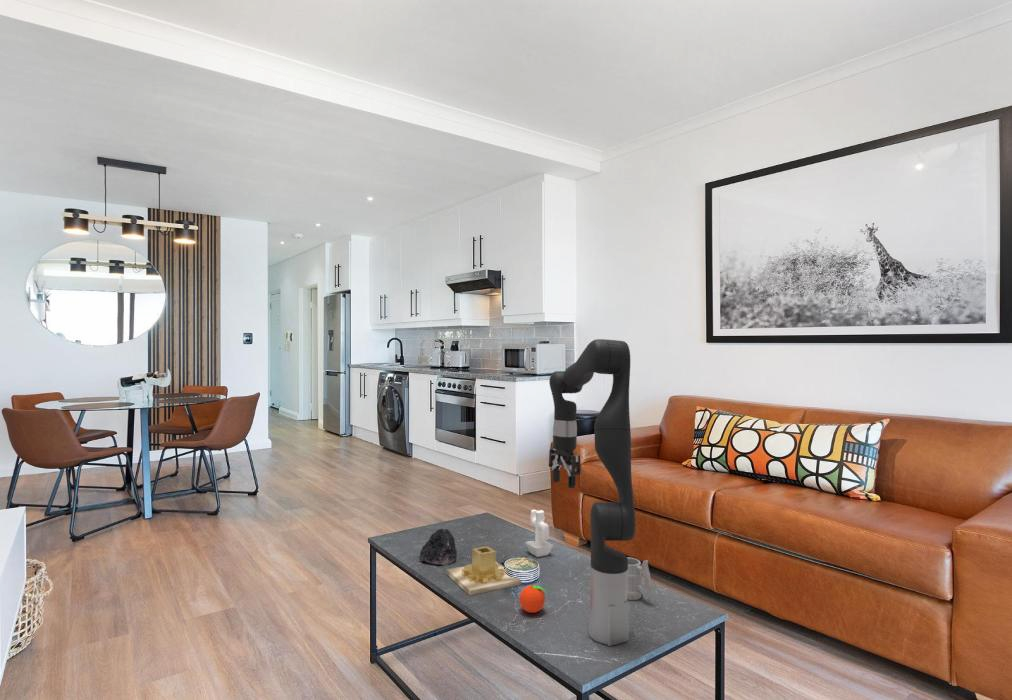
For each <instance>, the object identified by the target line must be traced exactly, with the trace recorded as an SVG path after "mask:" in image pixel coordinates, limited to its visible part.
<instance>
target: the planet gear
mask: <svg viewBox="0 0 1012 700" xmlns="http://www.w3.org/2000/svg"><path fill="white" fill-rule="evenodd" d="M471 553H472V554H471V563H468V564H466V565H465V566H466V567H464V569H462V575H463V576H467V575H468V580H469V581H470V582H472V581H475V582H476V583H478V582H482V583H483V584H484V583H488V580H493V579H495V580H496V581H499V580H501V578H503V575H505V570H504V569H503V568H502V569H498V564H496V562H497V551H496V550H494V549H493V548H491V547H489V546H488V545H487V546H481V547H475V548H472V549H471Z"/></svg>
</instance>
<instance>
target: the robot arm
mask: <svg viewBox="0 0 1012 700" xmlns="http://www.w3.org/2000/svg"><path fill="white" fill-rule="evenodd" d="M594 373H596V374H600V375H612V386H611V392H610V393H609V396H608V398H607V399H606V402H605V403H604V405H603V407H602V408H601V410H600V411H599V413H598V415H597V417H596V419H595V422H594V427H593V429H594V433H593V434H594V449H595V452H596V454H597V457H598V459H599V460H600V462H601V463H602V464H603V466H604V468H605V469H606V471H607V472H608V474H609V475H610V477H611V479H612V480H613V483H614V485H615V487H616V490H617V491H616V492H617V495H618V500H619V501H617V502H616V501H615V502H614V501H613V502H612V501H596V502H594V503H592V506H591V509H590V513H589V514H590V515H589V516H590V517H589V519H590V520H589V524H590V570H589V571H590V573H589V574H590V575H589V609H588V611H589V612H588V635H589V637H590V638H591V639H592V640H593V641H596V642H597V643H600V644H605V645H606V646H609V647H611V646H614V645H615V646H616V645H618V644H623V643H625V642H629V638H630V611H631V610H630V607H631V606H630V604H631V603H630V602H629V600H627V581H628V559H627V555H626V554H624V553H623V552H621V551H619V550H616V549H614V548H612V547H610V546H608V545H606V541H607V542H608V541H610V542H611V541H613V542H614V541H618V542H619V541H623V542H625V541H627V542H629V541H632V540H633V539H634V537H635V534H636V525H637V524H636V511H635V501H634V500H635V499H634V492H633V491H634V490H633V489H634V488H633V482H632V481H633V480H632V478H633V477H632V454H631V453H632V436H631V435H632V434H631V433H632V431H631V420H630V417H631V416H630V376H631V351H630V346H629V344H628V343H627V342H626V341H624V340H617V339H605V338H604V339H603V338H602V339H601V338H600V339H599V338H598V339H593V340H592V341H590V342H589V343H588V344H587V346H586V347H585V348H584V350H583V351H582V352H581V354H580V355H579V357H578V358H577V360H576V361H575V362H574V363H573V364H571V365H569V366H568V367H567V368H566V369H565V370H555V371H553V372H552V373H551V375H550V377H549V388H550V391H551V396H552V399H553V400H552V401H553V407H554V417H553V418H554V419H553V427H552V448H550V449H549V453H548V467H549V468H551V471H552V482H553V483H559V482H560V477H561V470H560V469H561V467H563V468H564V470H566V472H567V475H568V476H567V487H568V488H569V489H574V488H575V487H576V476H579V475H581V456H580V455H575V454H574V451H575V450H576V449H577V442H578V441H577V438H578V436H577V435H578V434H577V433H578V424H577V404H576V402H574V401H573V400H568V399H565V398H564V396H563V394H578V393H580V392H581V391H582V390H583V387H584V386H585V385H586V384H588V383H589V382H591V380H592V379H593V377H594Z"/></svg>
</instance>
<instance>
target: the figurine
mask: <svg viewBox="0 0 1012 700" xmlns="http://www.w3.org/2000/svg"><path fill="white" fill-rule="evenodd" d="M545 519H546V517H545V511H544V510H543V509H540V510H537V509H531V510H530V524H531V526H533V527H534V528H535V531H534V532H535V535H534V537H535V538H534V539H535V540H528V541H524V544H525V545H526V547H527V549H528V551H529V553H530V554H531V555H533V556H535V557H536V558H539V557H545V556H548V555H549V554H550V552H551V551H552V549H553V547H554V544H552V543H551V542H548V540H549V539H550V526H549V524H548V523H546V522H545Z"/></svg>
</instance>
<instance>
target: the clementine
mask: <svg viewBox="0 0 1012 700" xmlns="http://www.w3.org/2000/svg"><path fill="white" fill-rule="evenodd" d="M544 592H545V593H546V594H547V595H549V594H548V593H549V592H548V591H547V590H546V589H544V588H543V587H541V586H538V585H535V584H529V585H527V586H524V588H523V589H521V592H520V594H519V604H520V607H521V608H522V609H523V610H524V611H525V612H527V613H530V614H534V613H535V614H536V613H537V612H539V611H541V610H542V609H543V608H544V605H545V603H546V597H545V593H544Z"/></svg>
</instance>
